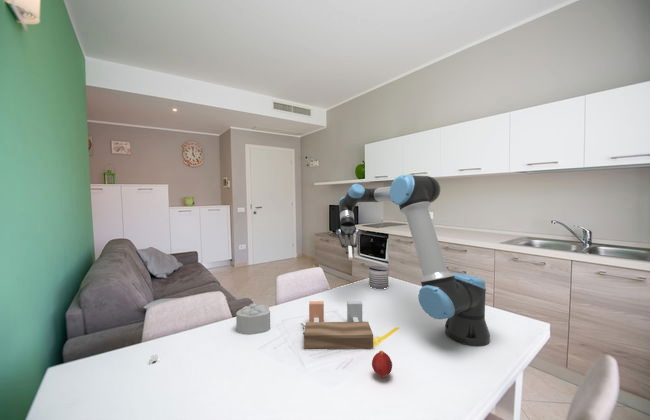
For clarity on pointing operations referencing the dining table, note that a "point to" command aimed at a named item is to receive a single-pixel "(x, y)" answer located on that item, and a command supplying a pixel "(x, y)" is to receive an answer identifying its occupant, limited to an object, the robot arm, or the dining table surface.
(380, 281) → the can
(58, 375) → the dining table surface
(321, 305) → the peach rectangular block
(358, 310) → the grey plunger
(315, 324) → the plunger housing
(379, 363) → the red oval fruit
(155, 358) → the adhesive hook
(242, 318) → the lumpy-topped squat cylinder
